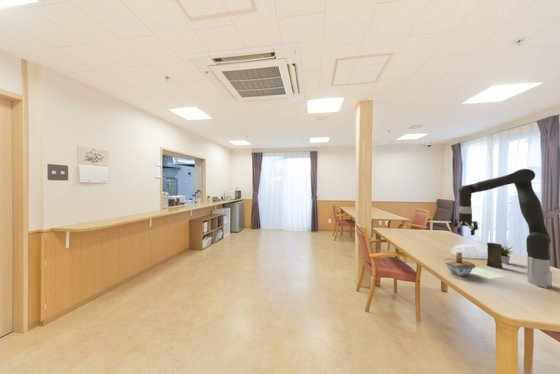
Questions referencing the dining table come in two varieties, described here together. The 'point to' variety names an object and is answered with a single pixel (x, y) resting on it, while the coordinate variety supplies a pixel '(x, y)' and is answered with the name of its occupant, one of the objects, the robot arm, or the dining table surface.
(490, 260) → the container
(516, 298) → the dining table surface
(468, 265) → the lid
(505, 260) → the house plant
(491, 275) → the mat
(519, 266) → the dining table surface
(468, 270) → the chinaware
